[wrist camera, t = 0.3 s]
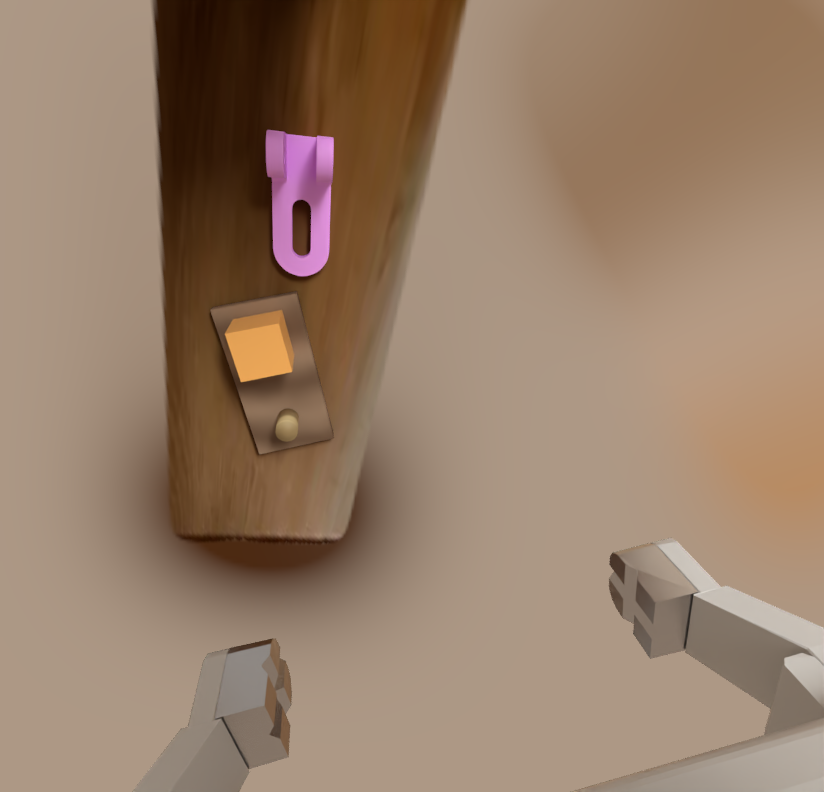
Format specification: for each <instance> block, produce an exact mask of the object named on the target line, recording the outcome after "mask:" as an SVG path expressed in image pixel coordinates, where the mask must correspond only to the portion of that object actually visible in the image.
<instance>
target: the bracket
mask: <svg viewBox="0 0 824 792" xmlns="http://www.w3.org/2000/svg"><path fill="white" fill-rule="evenodd" d="M333 145H334V141H333V137H325V136H317V138H316V137H307V136H299V135H290V134H286V133H285V132H282V131H274V130H267V132H266V167H267V175H268V177H272V217H273V251H274V255H275V258H276V260H277V262H278V263H279V264H280V266H281V267H282V268H283V269H284V270H286V271H287V272H289V273H291V274H293V275H297V276H309V275H312V274H315V273H317V272H318V271H319V270H321V269H322V268H323V266H324V265H325V263H326V261H327V259H328V255H329V237H330V201H331V183H332V178H333ZM297 200H305V201H306V202H308V203H309V205H310V207H311V250H310V252H309V253H308V254H307V255H305V256H300V255H297V254H296V253H295V252H294V250H293V218H292V208H293V204H294V202H295V201H297Z"/></svg>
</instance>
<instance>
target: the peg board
mask: <svg viewBox="0 0 824 792" xmlns="http://www.w3.org/2000/svg"><path fill="white" fill-rule="evenodd" d="M279 310H282V312H283V315H284V319H285V323H286V326H287V330H288V334H289V337H290V341H291V345H292V348H293V352H294V362H293V370H292V372H290V373H285V374H280V375H275V376H270V377H265V378H260V379H255V380H250V381H245V382H241V381H240V378H239V375H238V372H237V369H236V366H235V363H234V360H233V357H232V354H231V351H230V348H229V345H228V342H227V339H226V336H225V333H226V331H227V329H228V327H229V325H230V324H231V322H232V320H233V319H238V318H243V317H248V316H253V315H258V314H264V313H269V312H274V311H279ZM210 311H211V314H212V317H213V320H214V323H215V326H216V329H217V332H218V335H219V337H220V340H221V343H222V346H223V349H224V352H225V355H226V358H227V361H228V364H229V367H230V370H231V373H232V376H233V378H234V381H235V384H236V387H237V390H238V393H239V396H240V399H241V402H242V405H243V408H244V411H245V414H246V416H247V419H248V422H249V425H250V428H251V431H252V434H253V437H254V440H255V443H256V446H257V449H258V452H259V454H264V453H269V452H273V451H278V450H282V449H287V448H292V447H296V446H301V445H305V444H310V443H315V442H319V441H324V440H328V439H333V438H334V435H333V430H332V426H331V422H330V418H329V414H328V410H327V407H326V403H325V399H324V395H323V391H322V387H321V383H320V379H319V375H318V371H317V368H316V364H315V360H314V356H313V352H312V348H311V344H310V340H309V336H308V332H307V329H306V325H305V321H304V317H303V313H302V309H301V305H300V301H299V297H298V293H297V291H295V292H290V293H284V294H279V295H274V296H268V297H263V298H258V299H253V300H247V301H242V302H237V303H231V304H226V305H221V306H216V307H212V308H211V310H210Z"/></svg>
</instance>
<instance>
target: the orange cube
mask: <svg viewBox="0 0 824 792" xmlns="http://www.w3.org/2000/svg"><path fill="white" fill-rule="evenodd" d="M225 336H226V339H227V342H228V345H229V348H230V351H231V354H232V357H233V360H234V363H235V366H236V369H237V372H238V375H239V378H240V381H241V382H245V381H250V380H255V379H260V378H265V377H270V376H275V375H280V374H285V373H290V372H292V370H293V362H294V352H293V348H292V345H291V341H290V337H289V334H288V330H287V326H286V323H285V319H284V315H283V312H282V310H279V311H274V312H269V313H264V314H258V315H253V316H248V317H243V318H238V319H233V320H232V322H231V324H230V325H229V327H228V329H227V331H226V333H225Z"/></svg>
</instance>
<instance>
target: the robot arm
mask: <svg viewBox="0 0 824 792" xmlns="http://www.w3.org/2000/svg"><path fill="white" fill-rule="evenodd" d="M610 566H611V567H612V569H613V570H614V572H613V574H612V575H611V576H610V578H609V589H610V593H611V597H612V600H613V602H614V604H615V606H616V608H617V610H618V612H619V613H620V615H621V616H622V618H624V619H626V620H627V621H629V622H631V623H633V624H634V630H633V634H634V636H635V637H636V639H637V640H638V641H639V643H640V644H641V646H642V647H643V649H644V650H645V652H646V653H647V655H648V656H649V657H650V658H655V657H659V656H663V655H667V654H671V653H676V652H680V651H684V650H686V651H685V652H686V653H687V654H689V655H690V656H692V657H693V658H695V659H697V660H698V661H699V662H701V663H702V664H704V665H705V666H707V667H708V668H710V669H711V670H713V671H714V672H716V673H717V674H719V675H720V676H722V677H723V678H725V679H726V680H728V681H729V682H731V683H733V684H734V685H736V686H737V687H739V688H740V689H742V690H743V691H745V692H746V693H748V694H749V695H751V696H752V697H754V698H755V699H757V700H758V701H760V702H761V703H763V704H764V705H766V706H767V707H769V708H770V713H769V717H768V721H767V724H766V727H765V734H764V735H763V736H760V737H756V738H753V739H749V740H746V741H743V742H739V743H736V744H733V745H729V746H726V747H722V748H719V749H716V750H712V751H709V752H705V753H702V754H699V755H695V756H692V757H688V758H685V759H682V760H678V761H674V762H671V763H668V764H664V765H661V766H657V767H654V768H651V769H647V770H644V771H640V772H637V773H633V774H630V775H626V776H623V777H620V778H616V779H613V780H609V781H606V782H603V783H599V784H596V785H592V786H589V787H585V788H582V789H579V790H575V791H572V792H824V628H823V627H821V626H818V625H816V624H814V623H811V622H809V621H807V620H805V619H802V618H800V617H798V616H795V615H793V614H791V613H788V612H786V611H784V610H782V609H779V608H777V607H775V606H773V605H770V604H768V603H765V602H763V601H761V600H759V599H756V598H754V597H752V596H750V595H747V594H745V593H743V592H740V591H738V590H736V589H734V588H731V587H729V586H723V587H721V586H720V585H718V583H717V582H716V581H715V580H714V579H713V578H712V577H711V576H710V575H709V574H708V573H707V572H706V571H705V570H704V569H703V568H702V567H701V566H700V565H699V564H698V563H697V562H696V561H695V560H694V559H693V557H691V555H689V553H688V552H687V551H686V550H685V549H684V548H683V547H682V546H681V545H680V544H679V543H678V542H677V541H676V540H674V539H672V538H668V539H664V540H660V541H656V542H652V543H647V544H643V545H639V546H636V547H632V548H628V549H624V550H621V551H617V552H613V553H612V554H611V556H610ZM291 698H292V691H291V678H290V673H289V669H288V666H287V664H286V661H285V660H283V659H281V658H280V646H279V644H278V642H277V640H276V639H269V640H264V641H260V642H255V643H251V644H247V645H242V646H237V647H233V648H229V649H225V650H221V651H217V652H212V653H208V654H207V656H206V657H205V659H204V661H203V664H202V669H201V673H200V678H199V682H198V686H197V690H196V695H195V698H194V703H193V707H192V711H191V715H190V720H189V724H188V727H186V728H183V729H181V730H180V731H179V732H178V733H177V735H176V736H175V737H174V738H173V740H172V741H171V742H170V744H169V745H168V746H167V748H166V749H165V750H164V751H163V753H162V754H161V756H160V757H159V758H158V759H157V761H156V762H155V763H154V764H153V766H152V767H151V768H150V770H149V771H148V772H147V773H146V775H145V776H144V777H143V779H142V780H141V781H140V782H139V784H138V785H137V787H136V788H135V789H134V790H133V792H239V791H240V789H241V787H242V785H243V783H244V781H245V779H246V777H247V776H248V774H249V770H248V769H251V768H254V767H258V766H261V765H264V764H267V763H271V762H274V761H277V760H280V759H284V758H287V757H288V755H289V738H290V724H289V721H288V719H287V717H286V713H287V711H288V709H289V708H290V706H291Z"/></svg>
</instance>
